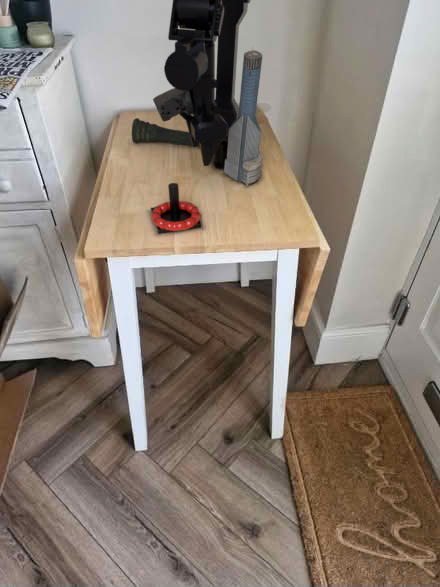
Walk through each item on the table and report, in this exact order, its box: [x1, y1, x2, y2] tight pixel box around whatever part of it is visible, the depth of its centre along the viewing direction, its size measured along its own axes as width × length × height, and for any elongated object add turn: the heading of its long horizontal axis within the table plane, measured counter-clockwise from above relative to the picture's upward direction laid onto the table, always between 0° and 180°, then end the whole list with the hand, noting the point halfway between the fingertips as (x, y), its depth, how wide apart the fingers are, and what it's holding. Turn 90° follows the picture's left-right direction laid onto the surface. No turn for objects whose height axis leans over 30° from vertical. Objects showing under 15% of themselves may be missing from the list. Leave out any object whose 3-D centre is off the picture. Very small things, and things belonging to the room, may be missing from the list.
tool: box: [131, 117, 200, 148], centre depth 117 cm, size 28×6×7 cm, turn 80°
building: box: [223, 47, 264, 187], centre depth 96 cm, size 10×9×30 cm
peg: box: [150, 182, 202, 235], centre depth 88 cm, size 9×9×8 cm
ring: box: [150, 200, 202, 232], centre depth 88 cm, size 10×10×2 cm
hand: (200, 155), depth 87 cm, fingers open, 9 cm apart
